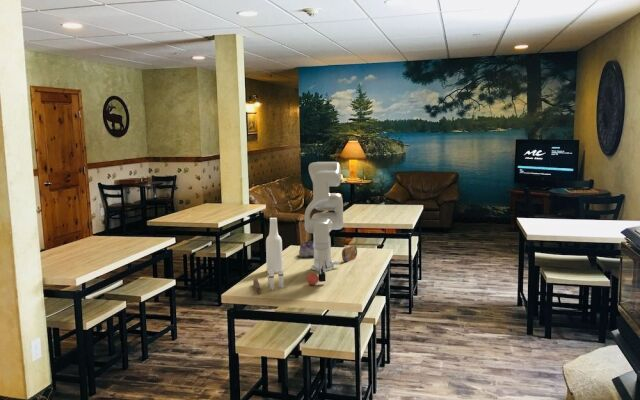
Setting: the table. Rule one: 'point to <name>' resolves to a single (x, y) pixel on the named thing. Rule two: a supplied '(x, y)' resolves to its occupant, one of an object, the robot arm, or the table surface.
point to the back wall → (257, 286)
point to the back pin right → (268, 276)
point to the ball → (312, 279)
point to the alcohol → (274, 248)
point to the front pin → (280, 278)
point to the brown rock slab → (349, 253)
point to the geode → (307, 249)
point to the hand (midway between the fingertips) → (322, 281)
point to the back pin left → (271, 280)
